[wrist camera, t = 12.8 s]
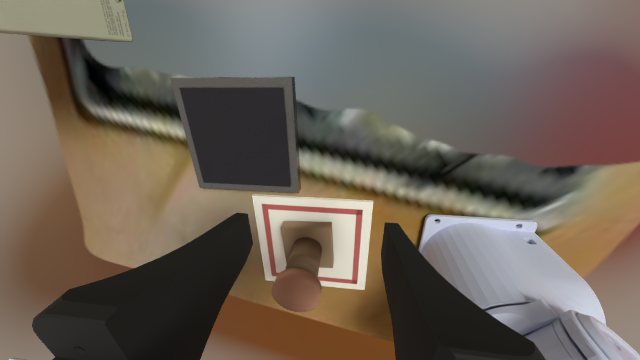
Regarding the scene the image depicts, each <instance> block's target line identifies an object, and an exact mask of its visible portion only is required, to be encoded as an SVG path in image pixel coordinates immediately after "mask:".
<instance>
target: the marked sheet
mask: <svg viewBox="0 0 640 360" xmlns="http://www.w3.org/2000/svg"><path fill="white" fill-rule="evenodd" d="M252 198H253V204H254V211H255V217H256V223H257V229H258V236H259V242H260V248H261V254H262V261H263V267H264V273H265V279H266V280H268V281H275V279H276V277H277V275H278V274H279V273H280V272H281V271H283V270H285V268H286V265H287V264H286V258H285V252H284V246H283V240H282V235H281V229H280V228H281V226H282V224H283V221H311V222H332V233H333V251H334V264H333V268H320V267H319V272H318V279H319V281H320V283H321V286H328V287H338V288H348V289H359V290H365V280H366V270H367V260H368V250H369V239H370V229H371V219H372V209H373V201H370V200H352V199H333V198H315V197H296V196H277V195H259V194H253V195H252Z"/></svg>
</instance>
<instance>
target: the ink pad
mask: <svg viewBox="0 0 640 360" xmlns="http://www.w3.org/2000/svg"><path fill="white" fill-rule="evenodd" d="M171 82H172V86H173V89H174V93H175V97H176V101H177V104H178V108H179V112H180V116H181V119H182V123H183V127H184V131H185V134H186V138H187V142H188V146H189V149H190V153H191V157H192V161H193V164H194V168H195V172H196V176H197V179H198V183H199V187H200V188H214V189H233V190H252V191H271V192H291V193H299V191H300V189H301V182H300V165H299V147H298V129H297V111H296V93H295V77H206V78H203V77H201V78H171Z"/></svg>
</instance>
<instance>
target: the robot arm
mask: <svg viewBox="0 0 640 360" xmlns="http://www.w3.org/2000/svg"><path fill="white" fill-rule="evenodd" d="M436 219H439V220H438V221H435V220H436ZM518 224H519V225H518ZM516 225H518V226H516ZM536 228H537V224H536V223H535V222H534V221H532V220H519V219H502V218H485V217H468V216H451V215H434V214H430V215H427V216H426V218H425V222H424V226H423V231H422V235H421V240H420V245H419V249H417V248H416V247H415V246H414V244H413V243H412V242H411V240H410V239H409V238H408V236H407V235H406V234H405V232H404V231H403V230H402V228H401V227H400V225H399V224H398V223H385V227H384V235H383V242H382V250H381V261H382V273H383V278H384V283H385V288H386V294H387V299H388V304H389V309H390V314H391V319H392V326H393V335H394V345H395V356H396V360H640V355H639V354H638V353H637V352H636V351H635V350H634V349H633V348H632V347H631V346H629V345H628V344H627V343H626V342H625V341H624V340H623V339H621V338H620V337H619V336H618V335H617V334H616V333H614V332H613V331H612V330H611V329H610V328H608V327H607V326H606V321H605V316H604V312H603V310H602V307H601V305H600V303H599V300H598V298H597V297H596V295H595V293H594V292H593V290H592V289H591V288H590V286H589V285H588V284H587V283H586V282H585V281H584V280H583V279H582V278H581V277H580V276H579V275H578V274H577V273H576V272H575V271H574V270H573V269H572V268H571V267H570V266H569V265H568V264H567V263H566V262H565V261H564V260H563V259H561V258H560V257H559V256H558V255H557V254H556V253H555V252H554V251H553V250H552V249H551V248H550V247H549V246H548V245H547V244H546V243H545V242H544V241H543V240H542V239H541V238H540V237H538V236H537V235H536V234H535V231H536ZM252 245H253V241H252V236H251V230H250V224H249V219H248V214H245V213H236V214H234V215H232V216H231V217H229V218H228V219H226V220H224V221H223V222H221V223H220V224H218V225H217V226H215V227H214V228H212V229H211V230H209V231H207V232H206V233H204V234H203V235H201V236H199V237H198V238H196V239H194V240H192V241H191V242H189V243H187V244H186V245H184V246H182V247H180V248H178V249H176V250H174V251H172V252H170V253H168V254H166V255H164V256H162V257H160V258H158V259H155V260H153V261H151V262H148V263H146V264H144V265H141V266H139V267H137V268H134V269H131V270H129V271H126V272H123V273H121V274H118V275H115V276H112V277H109V278H106V279H103V280H100V281H96V282H93V283H90V284H86V285H83V286H79V287H76V288H72V289H69V290H68V291H67V292H65V293H64V294H63V295H62V296H61V297H59V298H58V299H57V300H56V301H54V302H53V303H52V304H51V305H49V306H48V307H47V308H46V309H44V310H43V311H42V312H41V313H39V314H38V315H37V316H36V317H35V318H34V319H33V324H32V327H33V330H34V332H35V333H36V334H37V336H38V337H39V339H40V340H41V341H42V342H43V343H44V344H45V345H46V346H47V348H48V349H49V350H50V351H51V352H52V353H53V355H54V356H55V358H54V359H53V360H200V359H201V356H202V353H203V350H204V348H205V345H206V343H207V340H208V338H209V335H210V333H211V330H212V328H213V325H214V323H215V321H216V318H217V316H218V314H219V311H220V309H221V307H222V305H223V303H224V301H225V299H226V297H227V295H228V293H229V291H230V290H231V288H232V286H233V284H234V282H235V281H236V279H237V277H238V275H239V273H240V272H241V270H242V268H243V266H244V264H245V262H246V260H247V258H248V255H249V253H250V250H251V247H252ZM9 360H25V359H19V358H11V359H9Z"/></svg>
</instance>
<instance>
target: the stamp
mask: <svg viewBox="0 0 640 360" xmlns="http://www.w3.org/2000/svg"><path fill="white" fill-rule="evenodd" d="M280 229H281V235H282V240H283V246H284V252H285V258H286V264H287V265H286V268H285V270H283V271H281V272H280V273H279V274H278V275H277V277H276V279H275V282H274V285H273V288H272V295H273V298H274V299H275V301H276V302H277V303H278V304H279V305H281V306H282V307H284V308H286V309H288V310H291V311H295V312H306V311H310V310H312V309H314V308H315V307H317V306H318V304H319V302H320V296H321V289H322V287H321V283H320V281H319V279H318V272H319V267H320V268H333V264H334V251H333V233H332V222H311V221H283V224H282V226H281V228H280Z"/></svg>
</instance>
